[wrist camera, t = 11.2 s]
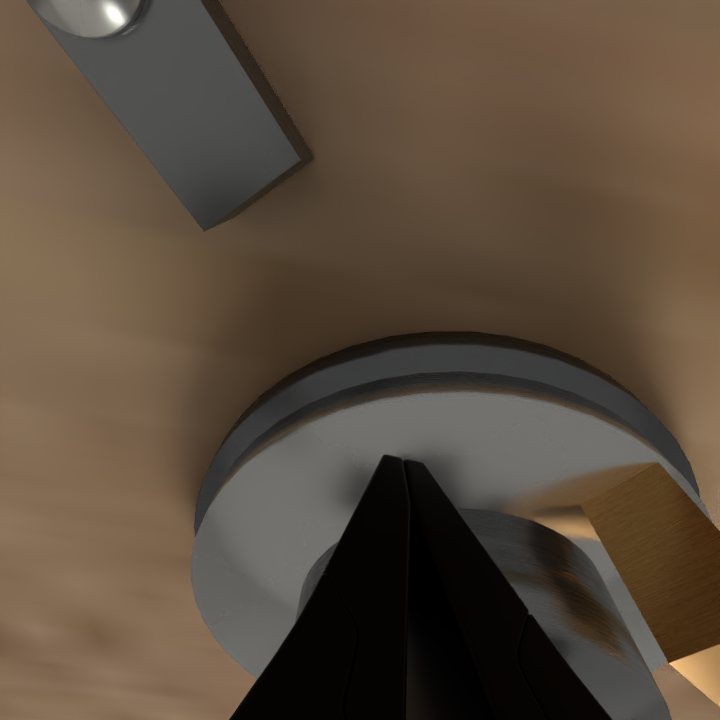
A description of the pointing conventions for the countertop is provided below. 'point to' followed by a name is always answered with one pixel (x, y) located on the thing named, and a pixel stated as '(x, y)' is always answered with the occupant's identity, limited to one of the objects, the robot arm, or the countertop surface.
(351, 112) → the countertop surface
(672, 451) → the turntable base
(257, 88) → the grey bar
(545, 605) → the cover
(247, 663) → the platter
